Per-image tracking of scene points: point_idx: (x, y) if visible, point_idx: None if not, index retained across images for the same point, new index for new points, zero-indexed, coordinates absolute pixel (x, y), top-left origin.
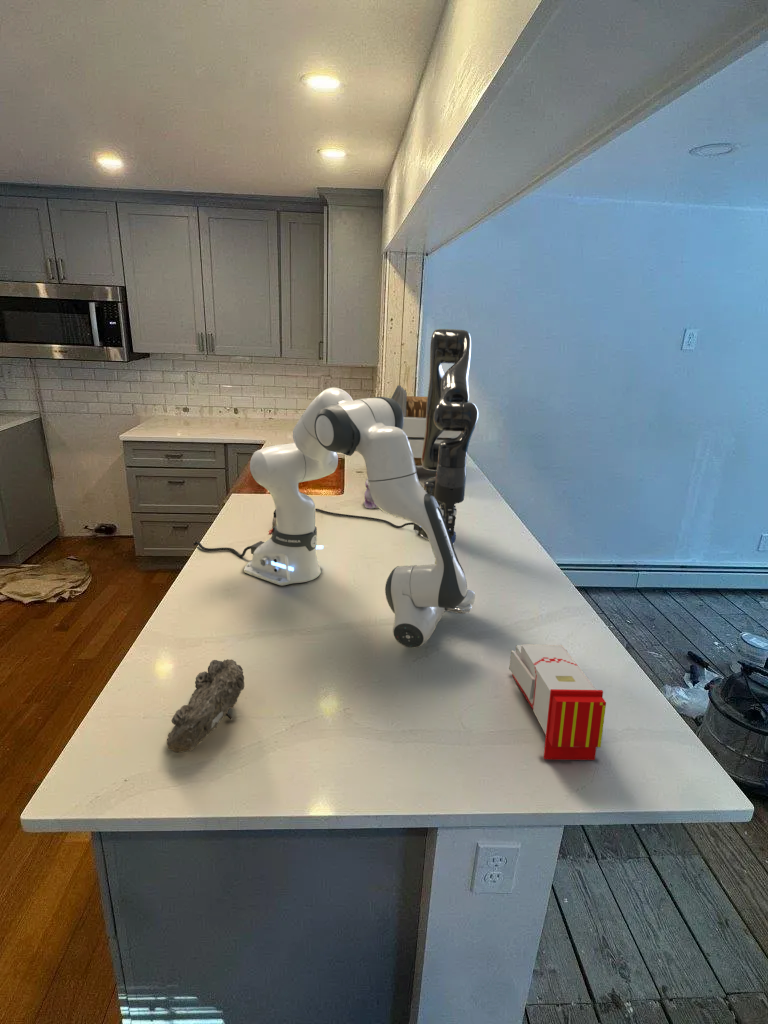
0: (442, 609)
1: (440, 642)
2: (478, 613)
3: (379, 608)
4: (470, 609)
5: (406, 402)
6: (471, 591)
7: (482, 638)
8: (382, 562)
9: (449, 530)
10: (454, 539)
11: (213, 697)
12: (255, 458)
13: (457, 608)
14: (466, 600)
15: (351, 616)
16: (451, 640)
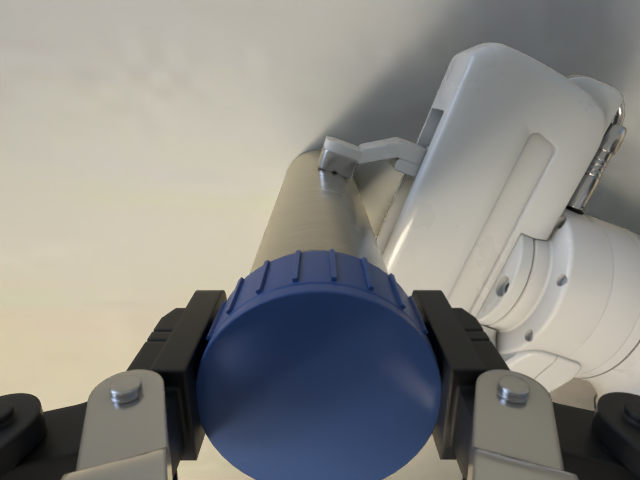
0: (626, 233)
1: (609, 201)
2: (397, 14)
3: None
4: (612, 86)
5: None
6: (495, 65)
7: (604, 27)
8: (8, 385)
9: (241, 360)
10: (378, 279)
11: None
12: None
13: (607, 156)
14: (593, 109)
15: (429, 457)
16: None
